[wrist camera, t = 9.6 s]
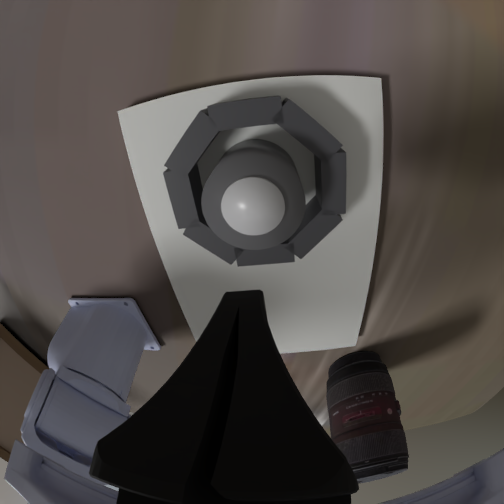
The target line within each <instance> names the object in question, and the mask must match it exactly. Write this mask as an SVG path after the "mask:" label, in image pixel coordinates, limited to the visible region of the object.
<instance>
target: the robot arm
mask: <svg viewBox="0 0 504 504" xmlns="http://www.w3.org/2000/svg"><path fill="white" fill-rule="evenodd" d="M68 302H69V304H70V306H71V308H70V310H69V311H68V313H67V315H66V316H65V318H64V320H63V321H62V323H61V325H60V326H59V328H58V330H57V331H56V333H55V335H54V337H53V339H52V340H51V342H50V345H49V348H48V354H47V360H48V366H49V368H50V369H49V370H48V369H46V370H44V371H43V373H42V375H41V377H40V379H39V381H38V383H37V385H36V387H35V390H34V392H33V394H32V396H31V399H30V401H29V404H28V406H27V409H26V411H25V414H24V420H23V423H22V426H21V429H20V430H21V433H22V435H21V437H22V440H23V442H24V443H25V444H23V443H22V442H20V441H18V440H17V439H16V440H15V442H14V445H13V448H12V451H11V455H10V458H9V462H8V466H7V469H6V473H5V477H4V479H5V481H6V482H7V483H9V484H10V485H11V486H12V487H13V488H14V489H15V490H16V491H17V492H18V493H19V494H20V495H22V496H23V497H24V499H25V500H26V501H27V502H28V504H351V494H353V493H356V492H357V491H358V490H359V486H358V481H357V479H356V476H355V474H354V472H353V470H352V468H351V466H350V465H349V463H348V461H347V458H346V457H345V455H344V454H343V453H342V452H341V450H340V449H339V448H338V447H337V446H336V444H335V443H334V442H333V440H332V439H331V438H330V437H329V435H328V434H327V433H326V431H325V430H324V429H323V427H322V426H321V424H320V423H319V422H318V420H317V419H316V417H315V416H314V414H313V413H312V411H311V410H310V408H309V407H308V405H307V403H306V402H305V400H304V399H303V397H302V396H301V394H300V392H299V390H298V389H297V387H296V385H295V383H294V382H293V380H292V378H291V376H290V374H289V372H288V370H287V368H286V366H285V364H284V362H283V360H282V358H281V355H280V353H279V351H278V348H277V346H276V343H275V341H274V338H273V335H272V333H271V330H270V327H269V324H268V320H267V313H266V307H265V300H264V294H263V291H261V290H260V289H259V290H245V291H231V292H226V293H225V294H224V295H223V297H222V299H221V301H220V303H219V305H218V307H217V309H216V310H215V312H214V314H213V316H212V318H211V319H210V321H209V323H208V324H207V326H206V328H205V329H204V331H203V333H202V334H201V336H200V338H199V339H198V341H197V342H196V344H195V345H194V346H193V348H192V349H191V351H190V352H189V354H188V355H187V357H186V358H185V359H184V361H183V362H182V363H181V365H180V366H179V367H178V369H177V370H176V371H175V372H174V373H173V375H172V376H171V377H170V378H169V379H168V381H167V382H166V383H165V384H164V385H163V386H162V387H161V388H160V389H159V390H158V391H157V393H156V394H155V395H154V396H153V397H152V398H151V399H150V400H149V401H148V402H147V403H146V404H144V405H143V406H142V407H141V408H140V409H139V410H138V411H136V412H135V413H134V414H133V415H132V416H131V415H129V412H130V408H131V406H129V405H127V404H126V401H127V397H128V394H129V391H130V388H131V385H132V382H133V379H134V376H135V373H136V370H137V367H138V364H139V361H140V358H141V355H142V352H143V350H160V349H161V345H160V344H159V342H158V341H157V339H156V337H155V336H154V334H153V332H152V330H151V329H150V327H149V325H148V323H147V322H146V320H145V318H144V316H143V315H142V313H141V311H140V309H139V307H138V305H137V303H136V302H135V300H134V299H132V298H70V299H69V300H68ZM108 484H109V485H112V486H115V487H118V488H119V491H116V490H113V489H111V488H108V487H106V486H104V485H108ZM378 504H504V448H503V449H502V450H500V451H498V452H497V453H495V454H494V455H492V456H490V457H488V458H487V459H484V460H482V461H480V462H478V463H476V464H474V465H472V466H470V467H468V468H466V469H464V470H463V471H461V472H459V473H457V474H455V475H454V476H453V477H451V478H449V479H446V480H444V481H442V482H440V483H437V484H435V485H432V486H430V487H428V488H425V489H423V490H420V491H417V492H414V493H412V494H408V495H405V496H402V497H400V498H396V499H393V500H389V501H386V502H382V503H378Z"/></svg>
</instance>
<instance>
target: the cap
mask: <svg viewBox="0 0 504 504" xmlns="http://www.w3.org/2000/svg"><path fill="white" fill-rule="evenodd" d="M201 205H202V212H203V215H204V218H205V220H206V222H207V224H208V226H209V227H210V229H211V230H212V231H213V232H214V233H215V234H216V235H217V236H218V237H219V238H220V239H222V240H223V241H225V242H226V243H228V244H230V245H232V246H235V247H238V248H242V249H248V250H262V249H267V248H271V247H274V246H277V245H279V244H281V243H283V242H284V241H286V240H287V239H288V238H290V237H291V236H292V235H293V234H294V233H295V232H296V230H297V229H298V228H299V226H300V224H301V222H302V220H303V217H304V214H305V208H306V200H305V194H304V190H303V187H302V184H301V181H300V178H299V175H298V172H297V169H296V166H295V164H294V161H293V160H292V158H291V157H290V155H289V154H288V153H287V152H286V151H285V150H284V149H283V148H281V147H280V146H279V145H277V144H275V143H273V142H270V141H266V140H261V139H251V140H245V141H242V142H239V143H237V144H235V145H234V146H232V147H231V148H229V149H228V150H227V151H226V152H225V153H224V154H223V156H222V157H221V159H220V160H219V162H218V163H217V165H216V167H215V168H214V170H213V171H212V173H211V175H210V176H209V178H208V179H207V181H206V183H205V186H204V188H203V192H202V198H201Z"/></svg>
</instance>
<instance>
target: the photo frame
mask: <svg viewBox="0 0 504 504" xmlns="http://www.w3.org/2000/svg"><path fill="white" fill-rule="evenodd" d="M46 369H48V370H49V369H50V368H48V367H47V366H46V365H45V364H43V363H42V362H41V361H40V360H39V359H38V358H36V357H35V356H34V355H33V354H32V353H31V352H30V351H28V350H27V349H26V348H25V347H24V346H23V345H22V344H21V343H20V342H19V341H18V340H17V339H16V338H15V337H14V336H13V335H12V334H11V333H10V332H9V331H8V330H7V329H6V328H5V327H4V326H3V325H2V324H1V323H0V457H1V458H2V459H4V460H5V461H7V462H9V458H10V455H11V451H12V448H13V445H14V442H15V440H16V439H17V440H18V441H20V442H22V443H23V444H25V443H24V442H23V440H22V437H21V435H22V433H21V430H20V429H21V426H22V423H23V420H24V414H25V411H26V409H27V406H28V404H29V401H30V399H31V396H32V394H33V392H34V390H35V387H36V385H37V383H38V381H39V379H40V377H41V375H42V373H43V371H44V370H46Z"/></svg>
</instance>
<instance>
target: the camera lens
mask: <svg viewBox="0 0 504 504" xmlns="http://www.w3.org/2000/svg"><path fill="white" fill-rule="evenodd" d="M328 374H329V379H328V381H327V405H328V412H329V419H330V431H331V439H332V440H333V442H334V443H335V444H336V446H337V447H338V448H339V449H340V450H341V452H342V453H343V454H344V455H345V457H346V458H347V461H348V463H349V465H350V466H351V468H352V470H353V472H354V474H355V476H356V479H357V481H358V483H364V482H370V481H374V480H378V479H382V478H386V477H389V476H392V475H395V474H398V473H401V472H404V471H406V470H407V469H408V457H409V455H408V449H407V443H406V437H405V433H404V430H403V426H402V424H401V421H400V415H401V409H400V404H399V401H398V400H396V398H395V391H394V387H393V383H392V379H391V377H390V375H389V373H388V370H387V367H386V365H385V364H383V363H382V362H381V359H380V357H379V355H378V354H376V353H374V352H368V351H366V352H357V353H353V354H349V355H347V356H344V357H342V358H340V359H339V360H337V361H336V362H334V363H333V364H332V365H331V367H330V368H329V372H328Z"/></svg>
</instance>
